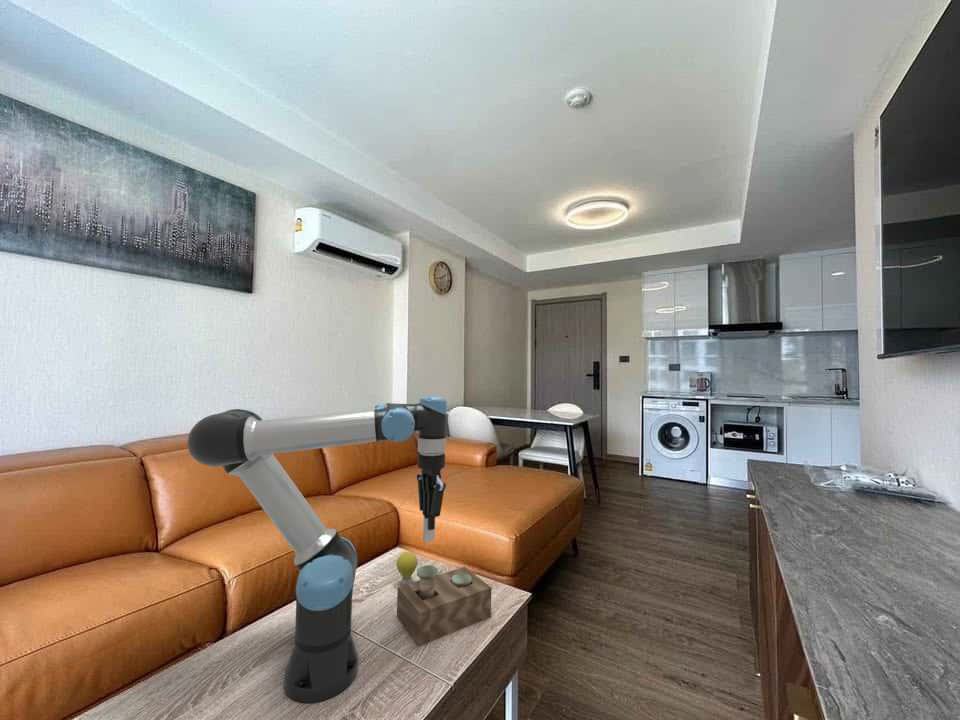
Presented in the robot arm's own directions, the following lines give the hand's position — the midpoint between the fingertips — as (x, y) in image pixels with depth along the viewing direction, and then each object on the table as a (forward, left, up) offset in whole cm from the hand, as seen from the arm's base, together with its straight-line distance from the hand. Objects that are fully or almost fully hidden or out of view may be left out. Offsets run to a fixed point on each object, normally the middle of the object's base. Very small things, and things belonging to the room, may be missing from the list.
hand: (428, 540), depth 106 cm
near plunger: (0, 0, -17) cm, 17 cm away
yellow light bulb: (+3, +21, -22) cm, 31 cm away
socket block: (+5, 0, -22) cm, 23 cm away
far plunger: (+11, 0, -22) cm, 24 cm away
